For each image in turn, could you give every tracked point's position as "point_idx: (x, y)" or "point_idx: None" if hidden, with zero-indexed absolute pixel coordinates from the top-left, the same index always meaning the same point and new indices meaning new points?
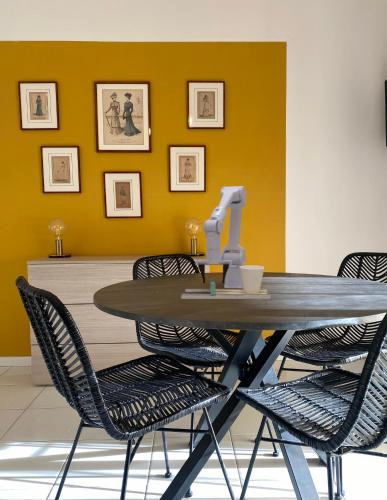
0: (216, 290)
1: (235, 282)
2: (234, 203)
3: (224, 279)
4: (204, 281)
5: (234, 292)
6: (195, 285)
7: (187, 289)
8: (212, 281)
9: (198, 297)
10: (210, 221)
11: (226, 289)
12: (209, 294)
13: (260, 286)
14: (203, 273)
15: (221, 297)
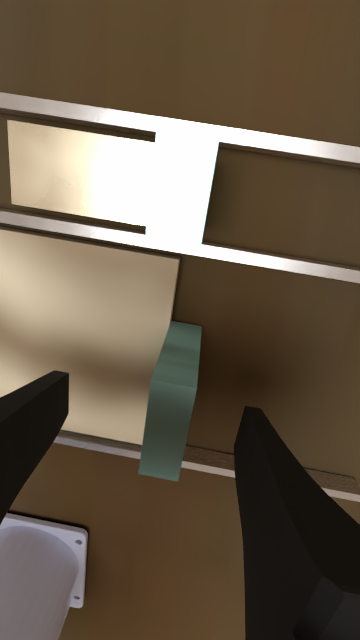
0: (141, 423)
1: (2, 555)
2: None
3: (25, 385)
4: (254, 415)
5: (10, 318)
6: (238, 633)
7: (345, 491)
8: (168, 379)
9: (343, 147)
10: None
11: (69, 437)
12: (218, 247)
13: None
14: (290, 485)
15: (121, 113)
